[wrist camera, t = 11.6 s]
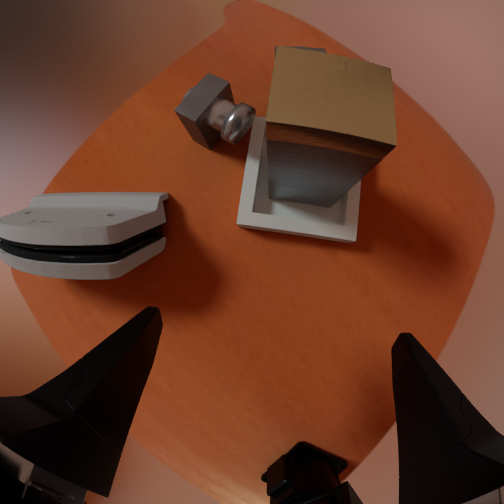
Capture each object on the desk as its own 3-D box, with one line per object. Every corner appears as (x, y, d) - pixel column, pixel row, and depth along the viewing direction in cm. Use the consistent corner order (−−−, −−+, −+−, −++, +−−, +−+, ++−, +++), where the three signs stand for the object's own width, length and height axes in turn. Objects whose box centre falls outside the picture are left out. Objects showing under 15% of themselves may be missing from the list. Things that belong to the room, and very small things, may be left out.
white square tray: (355, 143, 23) (362, 133, 21) (348, 243, 23) (355, 241, 20) (255, 127, 23) (253, 116, 21) (239, 227, 23) (236, 223, 21)
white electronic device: (172, 192, 24) (111, 214, 14) (172, 245, 25) (118, 292, 16) (41, 193, 25) (-26, 212, 15) (45, 234, 26) (-18, 263, 17)
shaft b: (260, 130, 23) (257, 96, 18) (233, 164, 23) (223, 137, 18) (216, 105, 24) (203, 70, 18) (189, 137, 24) (169, 108, 18)
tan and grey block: (334, 161, 22) (390, 68, 9) (330, 207, 22) (396, 145, 9) (274, 152, 23) (277, 46, 10) (268, 198, 22) (265, 121, 9)
